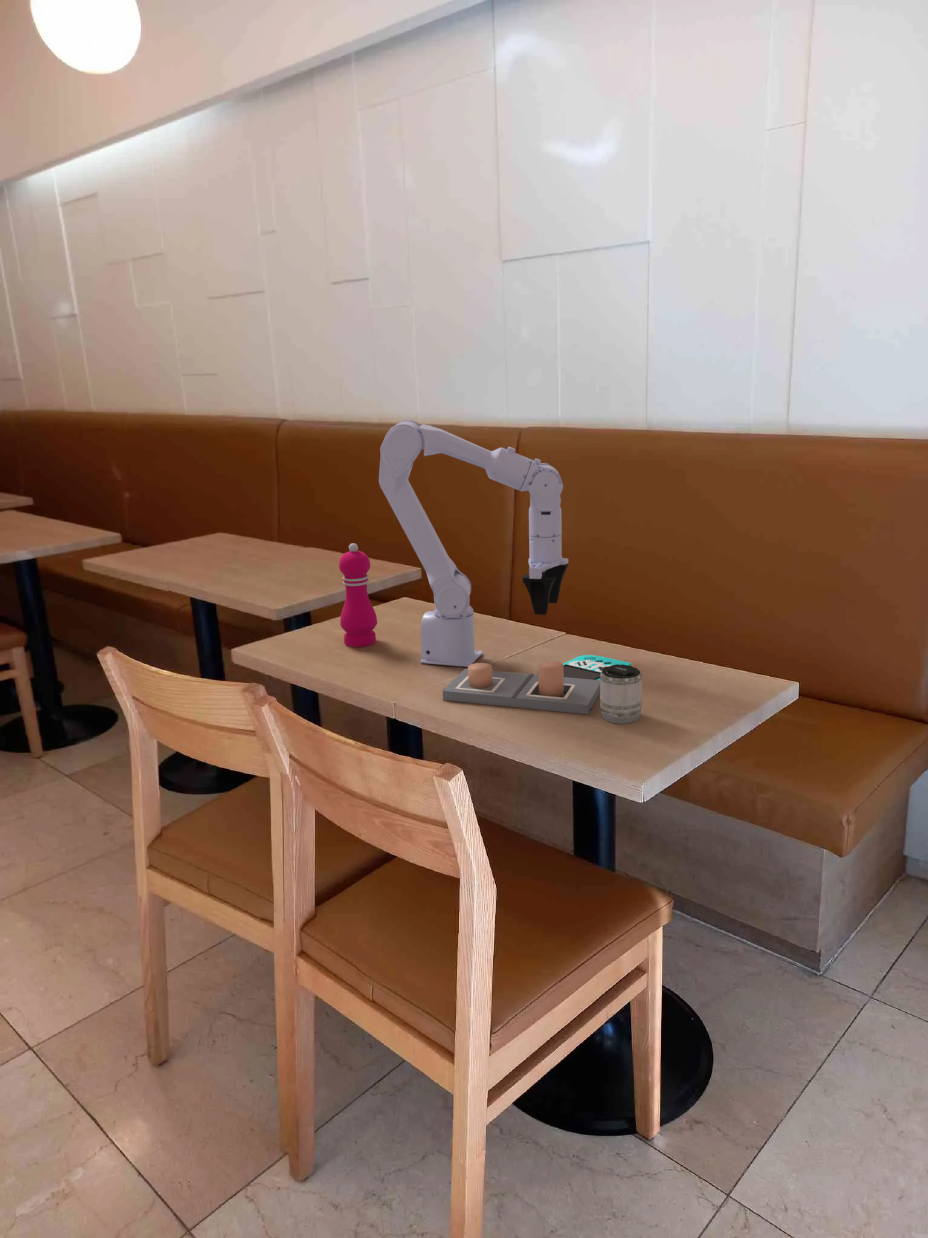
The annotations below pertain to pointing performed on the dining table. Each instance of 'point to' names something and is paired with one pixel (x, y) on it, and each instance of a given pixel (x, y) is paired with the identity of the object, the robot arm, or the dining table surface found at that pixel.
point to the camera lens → (620, 694)
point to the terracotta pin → (551, 679)
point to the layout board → (519, 690)
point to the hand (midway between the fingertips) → (546, 608)
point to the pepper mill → (357, 600)
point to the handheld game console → (589, 666)
